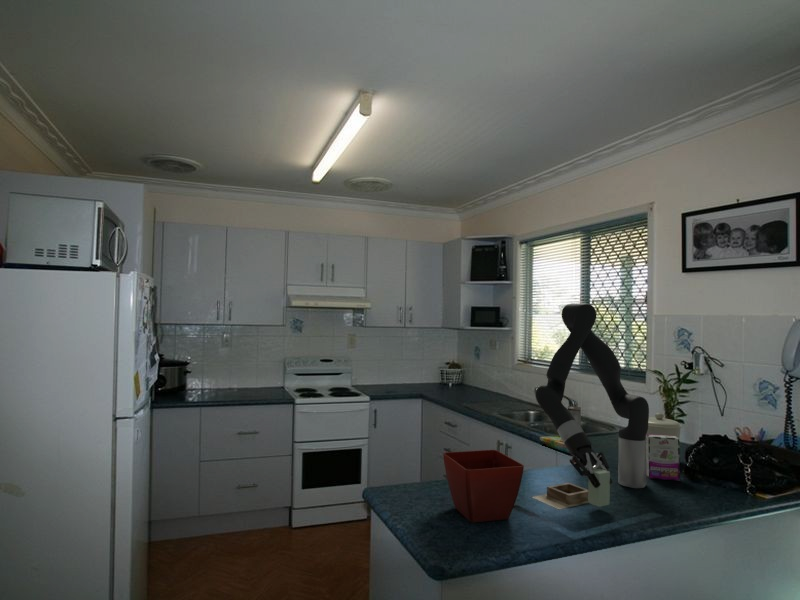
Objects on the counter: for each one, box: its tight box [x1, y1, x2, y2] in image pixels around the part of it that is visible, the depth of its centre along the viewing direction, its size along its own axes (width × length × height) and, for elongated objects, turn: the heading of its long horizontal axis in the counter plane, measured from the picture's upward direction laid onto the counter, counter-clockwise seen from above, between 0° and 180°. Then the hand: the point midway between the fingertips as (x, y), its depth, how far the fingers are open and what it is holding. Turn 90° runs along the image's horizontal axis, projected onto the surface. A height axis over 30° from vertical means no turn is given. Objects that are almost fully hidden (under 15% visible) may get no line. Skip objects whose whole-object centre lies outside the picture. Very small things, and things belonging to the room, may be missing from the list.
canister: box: [647, 412, 683, 439], centre depth 224 cm, size 18×18×21 cm
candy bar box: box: [646, 434, 681, 482], centre depth 197 cm, size 11×5×16 cm, turn 76°
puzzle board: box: [531, 482, 589, 510], centre depth 167 cm, size 22×12×4 cm, turn 120°
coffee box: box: [567, 405, 582, 428], centre depth 262 cm, size 9×6×16 cm
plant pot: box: [442, 449, 525, 524], centre depth 155 cm, size 19×19×17 cm
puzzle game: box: [539, 434, 570, 454], centre depth 241 cm, size 12×5×20 cm
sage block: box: [587, 467, 611, 508], centre depth 157 cm, size 5×4×10 cm
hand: (604, 485), depth 155 cm, fingers closed on sage block, 5 cm apart
